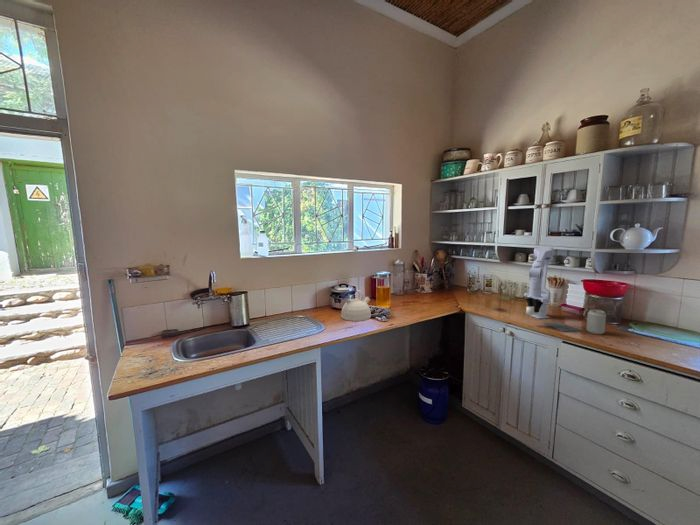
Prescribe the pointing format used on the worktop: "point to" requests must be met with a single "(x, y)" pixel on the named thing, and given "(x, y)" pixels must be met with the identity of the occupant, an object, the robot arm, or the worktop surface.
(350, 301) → the kettle
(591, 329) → the can
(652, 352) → the worktop surface
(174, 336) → the worktop surface
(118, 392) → the worktop surface
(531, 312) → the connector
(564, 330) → the mat
